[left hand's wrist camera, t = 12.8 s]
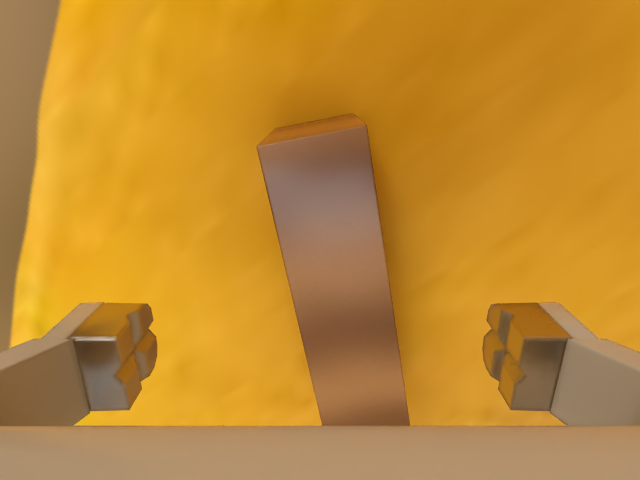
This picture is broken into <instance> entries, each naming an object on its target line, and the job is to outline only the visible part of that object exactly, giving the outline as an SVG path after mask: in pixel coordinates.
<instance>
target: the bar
mask: <svg viewBox="0 0 640 480" xmlns="http://www.w3.org/2000/svg"><path fill="white" fill-rule="evenodd" d="M257 151H258V155H259V159H260V164H261V168H262V172H263V176H264V181H265V185H266V189H267V193H268V197H269V202H270V206H271V210H272V214H273V219H274V223H275V227H276V231H277V236H278V240H279V244H280V248H281V252H282V257H283V261H284V265H285V269H286V274H287V278H288V282H289V286H290V291H291V295H292V299H293V303H294V307H295V312H296V316H297V320H298V324H299V329H300V333H301V337H302V341H303V345H304V350H305V354H306V358H307V362H308V367H309V371H310V375H311V379H312V384H313V388H314V392H315V396H316V400H317V405H318V409H319V413H320V417H321V422H322V426H410V422H409V415H408V408H407V401H406V394H405V387H404V380H403V373H402V366H401V359H400V353H399V346H398V339H397V332H396V325H395V318H394V311H393V304H392V297H391V290H390V283H389V276H388V269H387V262H386V255H385V248H384V242H383V235H382V228H381V221H380V214H379V207H378V200H377V193H376V186H375V179H374V172H373V165H372V158H371V151H370V144H369V137H368V131H367V126H366V125H365V124H364V123H363V122H362V121H361V120H360V119H359V118H358V117H356V116H355V115H354V114H348V115H342V116H337V117H332V118H327V119H322V120H317V121H312V122H306V123H301V124H296V125H291V126H286V127H281V128H276V129H274V130H273V131H272V132H271V133H270V134H269V135H268V136H267V137H266V138H265V139H264V140H263V141H262V142H261V143H260V144H259V145H258V146H257Z"/></svg>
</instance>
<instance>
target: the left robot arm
mask: <svg viewBox="0 0 640 480" xmlns="http://www.w3.org/2000/svg"><path fill="white" fill-rule="evenodd" d="M152 322H153V316H152V311H151V307H150V306H149V305H148V304H144V303H104V302H97V303H80V304H79V305H78V306H77V307H76V308H75V309H74V310H72V311H71V312H70V313H69V314H68V315H67V316H66V317H65V318H64V319H62V320H61V321H60V322H59V323H58V324H57V325H56V326H55V327H54V328H52V329H51V330H50V331H49V332H48V333H47V334H46V335H45V336H44V337H42V338H41V339H32V340H30V341H27V342H25V343H22V344H20V345H17V346H15V347H12V348H10V349H7V350H5V351H2V352H0V480H640V352H638V351H635V350H633V349H630V348H628V347H625V346H623V345H620V344H618V343H615V342H613V341H610V340H608V339H599V338H598V337H596V336H595V335H594V334H593V333H592V332H591V331H590V330H589V329H588V328H586V327H585V326H584V325H583V324H582V323H581V322H580V321H579V320H578V319H577V318H575V317H574V316H573V315H572V314H571V313H570V312H569V311H568V310H567V309H565V308H564V307H563V306H562V305H561V304H559V303H556V302H549V303H503V304H492V305H491V306H490V308H489V310H488V315H487V322H488V323H489V325H490V326H491V328H492V329H491V330H490V331H489V332H488V333H487V334H486V335H485V336H484V341H483V358H484V363H485V366H486V369H487V371H488V372H489V374H490V376H492V377H493V378H495V379H496V380H498V381H499V387H498V390H499V391H500V393H501V395H502V396H503V398H504V400H505V401H506V403H507V405H508V406H509V408H510V410H528V411H550V413H551V414H552V415H554V416H555V417H556V418H558V419H559V420H560V421H562V422H563V423H564V424H566V425H567V426H73V425H74V424H76V423H77V422H78V421H80V420H81V419H83V418H84V417H85V416H87V415H88V414H89V413H90V411H111V410H130V408H131V406H132V405H133V403H134V401H135V400H136V398H137V396H138V395H139V393H140V391H141V390H142V387H141V381H142V380H144V379H145V378H147V377H148V376H150V374H151V372H152V370H153V369H154V366H155V362H156V358H157V340H156V336H155V335H154V334H153V333H152V332H151V331H150V330H149V329H148V328H149V326H150V325H151V323H152Z"/></svg>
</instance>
